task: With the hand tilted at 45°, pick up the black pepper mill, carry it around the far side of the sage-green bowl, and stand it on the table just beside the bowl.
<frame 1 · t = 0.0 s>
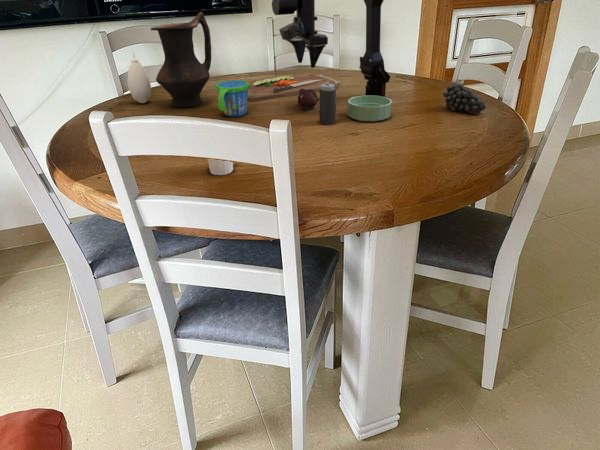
hand: (306, 65, 152), 15 cm above the table, tool pointing down, fingers open, 9 cm apart
shot glass: (221, 171, 114), on the table
jug: (190, 104, 168), on the table
snack cup: (235, 114, 156), on the table
fruit: (463, 112, 152), on the table
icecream: (307, 109, 159), on the table
teardrop candle: (142, 103, 171), on the table
pepper mill: (327, 122, 146), on the table
chopping board: (281, 88, 187), on the table
bowl: (369, 116, 150), on the table
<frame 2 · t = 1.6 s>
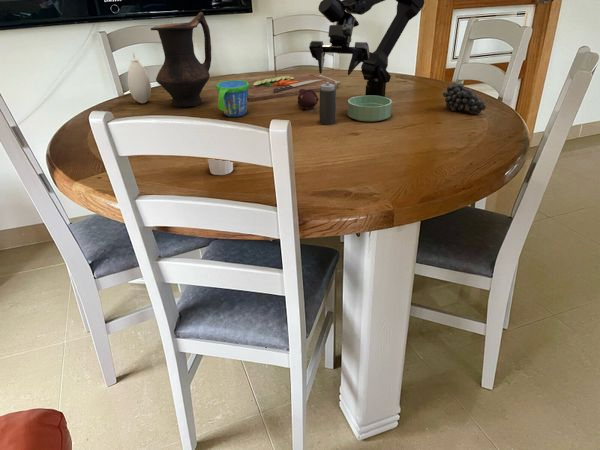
hand: (334, 73, 145), 13 cm above the table, tool tilted 45°, fingers open, 9 cm apart
nothing on the table moved.
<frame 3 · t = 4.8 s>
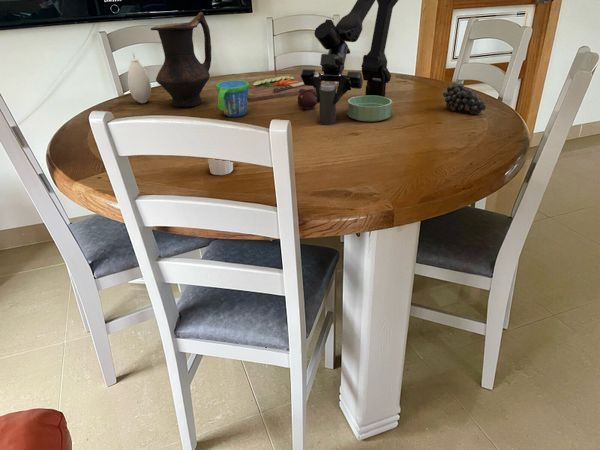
hand: (326, 102, 141), 7 cm above the table, tool tilted 45°, fingers closed on pepper mill, 5 cm apart
pepper mill: (327, 122, 146), on the table, touching gripper
everything else where it was.
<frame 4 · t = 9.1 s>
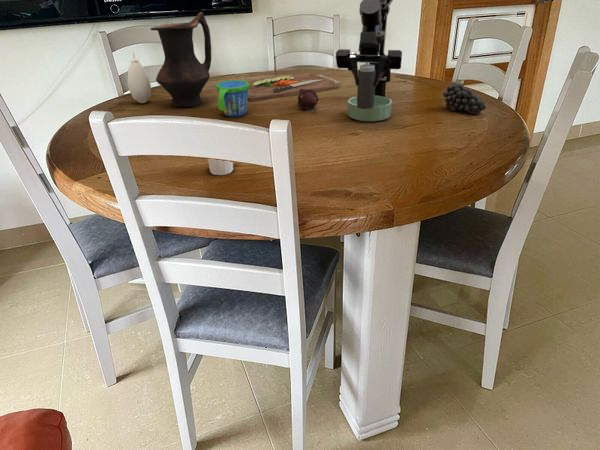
hand: (366, 85, 132), 13 cm above the table, tool tilted 45°, fingers closed on pepper mill, 5 cm apart
pepper mill: (365, 106, 136), point 7 cm above the table, touching gripper
everything else where it was.
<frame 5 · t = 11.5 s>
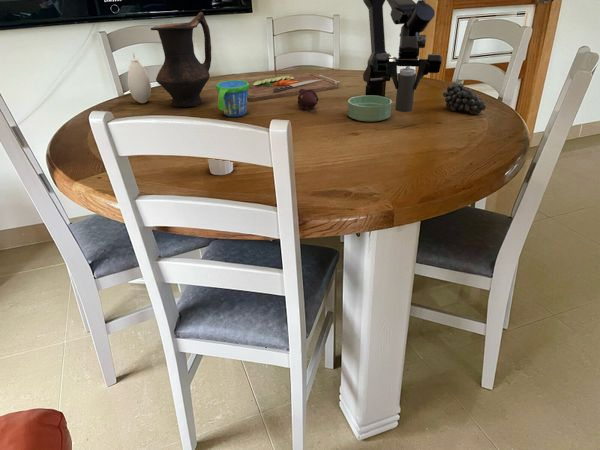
hand: (405, 88, 134), 12 cm above the table, tool tilted 45°, fingers closed on pepper mill, 5 cm apart
pepper mill: (403, 109, 138), point 5 cm above the table, touching gripper
everything else where it was.
when the fingers open (7 cm above the table, at t = 13.4 s): pepper mill stays where it is, on the table.
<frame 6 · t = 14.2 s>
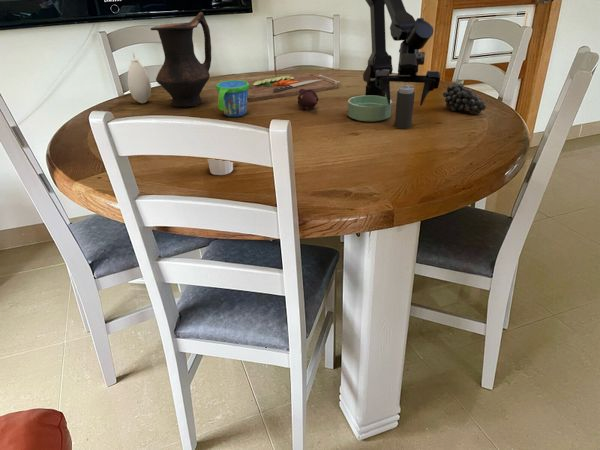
hand: (405, 104, 136), 7 cm above the table, tool tilted 45°, fingers open, 9 cm apart
pepper mill: (402, 126, 141), on the table
everything else where it was.
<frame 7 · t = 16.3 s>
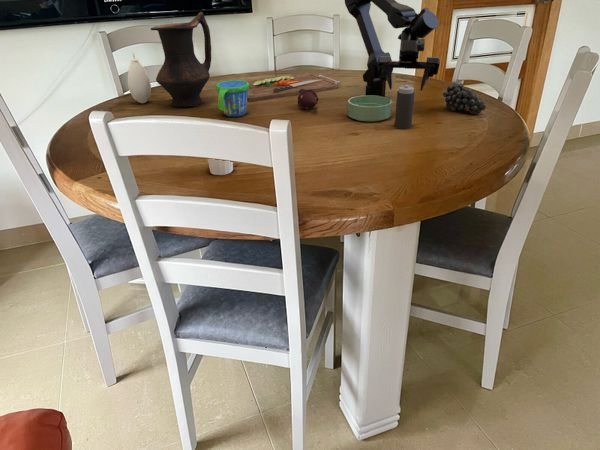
hand: (405, 89, 142), 9 cm above the table, tool tilted 45°, fingers open, 9 cm apart
nothing on the table moved.
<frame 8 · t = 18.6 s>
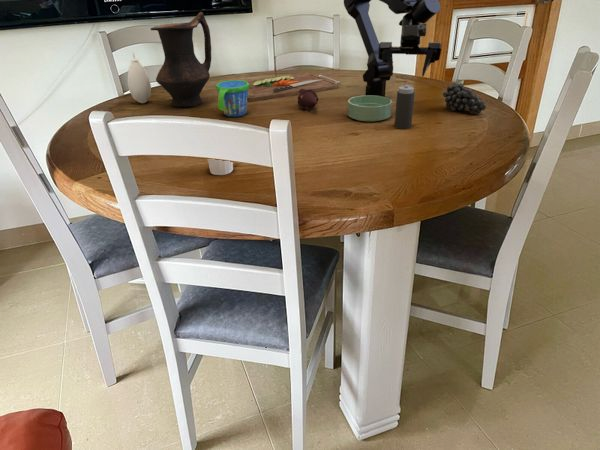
hand: (407, 75, 140), 14 cm above the table, tool tilted 45°, fingers open, 9 cm apart
nothing on the table moved.
at the end: pepper mill inside the target area on the table beside the bowl (0.6 cm from its centre), on the table; pepper mill tilted 0°; the gripper is holding nothing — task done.
